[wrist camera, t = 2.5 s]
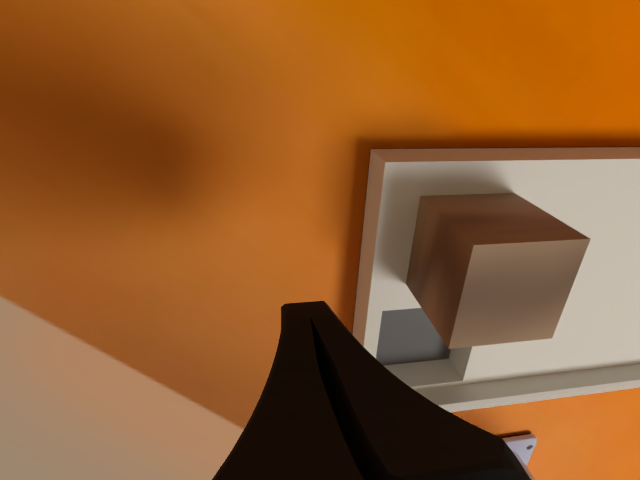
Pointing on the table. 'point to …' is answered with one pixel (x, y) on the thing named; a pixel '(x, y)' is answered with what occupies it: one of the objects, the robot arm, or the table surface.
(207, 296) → the table surface
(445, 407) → the tray
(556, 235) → the walnut block
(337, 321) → the robot arm
